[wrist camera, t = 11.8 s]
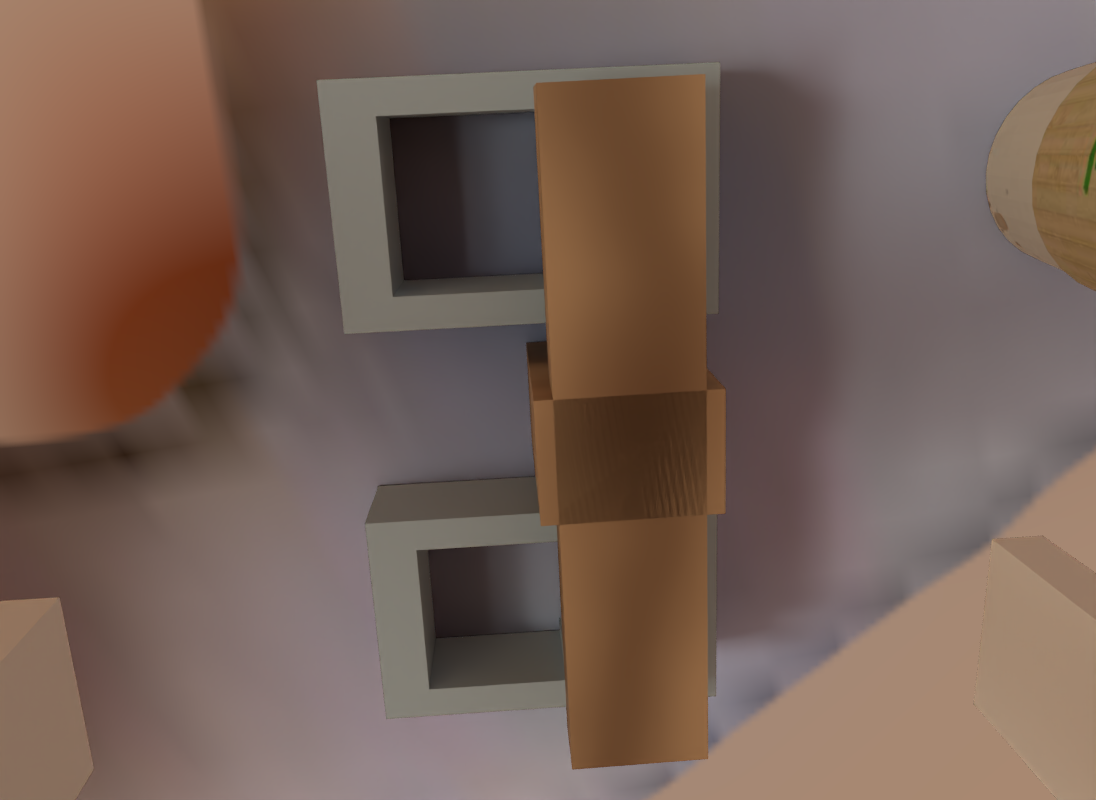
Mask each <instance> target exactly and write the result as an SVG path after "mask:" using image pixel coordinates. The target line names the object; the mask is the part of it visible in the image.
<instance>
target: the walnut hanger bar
mask: <svg viewBox="0 0 1096 800" xmlns="http://www.w3.org/2000/svg"><path fill="white" fill-rule="evenodd" d="M533 93H534V111H535V130H536V149H537V167H538V186H539V205H540V223H541V242H542V261H543V280H544V298H545V317H546V336H547V341H546V342H530V343H526V350H527V367H528V383H529V400H530V417H531V433H532V447H533V456H534V466H535V475H536V485H537V494H538V504H539V513H540V523H541V526H552V525H557V541H558V560H559V579H560V597H561V616H562V635H563V653H564V672H565V691H566V710H567V728H568V736H569V745H570V754H571V763H572V769H584V768H597V767H610V766H623V765H636V764H648V763H661V762H674V761H687V760H700V759H708V614H707V515H712V514H725V496H726V389H725V388H724V386H723V385H722V384H721V383H720V382H719V381H718V380H717V379H716V378H715V376H714V375H713V374H712V373H711V372H710V371H709V370H708V369H707V355H706V96H705V74H696V75H676V76H657V77H638V78H619V79H600V80H581V81H561V82H542V83H536V84H535V85H534V87H533Z"/></svg>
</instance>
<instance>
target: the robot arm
mask: <svg viewBox="0 0 1096 800" xmlns="http://www.w3.org/2000/svg"><path fill="white" fill-rule="evenodd" d="M974 705H975V706H976V707H977V708H978V710H979V711H980V712H981V713H982V714H983V715H984V717H985V718H986V719H987V720H988V721H989V722H990V723H991V725H992V726H993V727H994V728H995V729H996V730H997V731H998V733H999V734H1000V735H1001V736H1002V737H1003V738H1004V739H1005V740H1006V742H1007V743H1008V744H1009V745H1010V746H1011V747H1012V749H1013V750H1014V751H1015V752H1016V753H1017V754H1018V755H1019V757H1020V758H1021V759H1022V760H1023V761H1024V762H1025V763H1026V765H1027V766H1028V767H1029V768H1030V769H1031V770H1032V772H1033V773H1034V774H1035V775H1036V776H1037V777H1038V778H1039V780H1040V781H1041V782H1042V783H1043V784H1044V785H1045V786H1046V787H1047V789H1048V790H1049V791H1050V792H1051V793H1052V794H1053V795H1054V797H1055V798H1056V799H1057V800H1096V573H1095V572H1094V571H1092V570H1091V569H1089V568H1088V567H1086V566H1085V565H1083V564H1082V563H1081V562H1079V561H1078V560H1076V559H1075V558H1074V557H1072V556H1071V555H1069V554H1068V553H1067V552H1065V551H1063V550H1062V549H1061V548H1059V547H1058V546H1057V545H1055V544H1054V543H1052V542H1051V541H1050V540H1048V539H1047V538H1045V537H1044V536H1032V537H1017V538H1000V539H992V544H991V552H990V561H989V570H988V579H987V588H986V598H985V606H984V615H983V624H982V633H981V642H980V651H979V660H978V668H977V677H976V687H975V695H974ZM93 770H94V766H93V761H92V756H91V751H90V746H89V741H88V736H87V731H86V726H85V721H84V716H83V711H82V706H81V701H80V696H79V691H78V686H77V681H76V676H75V671H74V666H73V661H72V656H71V651H70V646H69V641H68V636H67V631H66V626H65V621H64V616H63V611H62V606H61V601H60V597H55V598H39V599H23V600H7V601H1V602H0V800H76V798H77V796H78V795H79V793H80V791H81V790H82V788H83V786H84V785H85V783H86V781H87V780H88V778H89V777H90V775H91V773H92V772H93Z"/></svg>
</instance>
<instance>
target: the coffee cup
mask: <svg viewBox="0 0 1096 800" xmlns="http://www.w3.org/2000/svg"><path fill="white" fill-rule="evenodd" d="M986 194H987V198H988V203H989V207H990V211H991V213H992V216H993V218H994V220H995V222H996V224H997V226H998V228H999V229H1000V231H1001V232H1002V233H1003V234H1004V236H1005V237H1006V238H1007V240H1008V241H1009V242H1011V243H1012V244H1013V245H1014V246H1015V247H1017V248H1018V249H1019V250H1020V251H1022V252H1024V253H1026V254H1028V255H1030V256H1032V257H1034V258H1036V259H1038V260H1040V261H1042V262H1045V263H1047V264H1049V265H1051V266H1054V267H1056V268H1058V269H1060V270H1062V271H1064V272H1066V273H1067V274H1068V275H1069V276H1071V277H1072V278H1073V279H1074V280H1075V281H1077V282H1078V283H1080V284H1082V285H1084V286H1086V287H1088V288H1090V289H1092V290H1094V291H1096V62H1094V63H1091V64H1088V65H1085V66H1082V67H1078V68H1075V69H1072V70H1069V71H1066V72H1064V73H1061V74H1059V75H1056V76H1053V77H1051V78H1049V79H1048V80H1046V81H1044V82H1043V83H1041V84H1040V85H1038V86H1036V87H1035V88H1033V89H1032V90H1031V91H1030V92H1029V93H1028V94H1027V95H1026V96H1024V97H1023V98H1022V99H1021V100H1020V101H1019V102H1018V103H1017V104H1016V106H1015V107H1014V108H1013V109H1012V111H1011V112H1010V113H1009V114H1008V116H1007V117H1006V118H1005V120H1004V122H1003V123H1002V125H1001V127H1000V129H999V131H998V133H997V134H996V136H995V139H994V142H993V145H992V148H991V151H990V153H989V158H988V164H987V170H986Z"/></svg>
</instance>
